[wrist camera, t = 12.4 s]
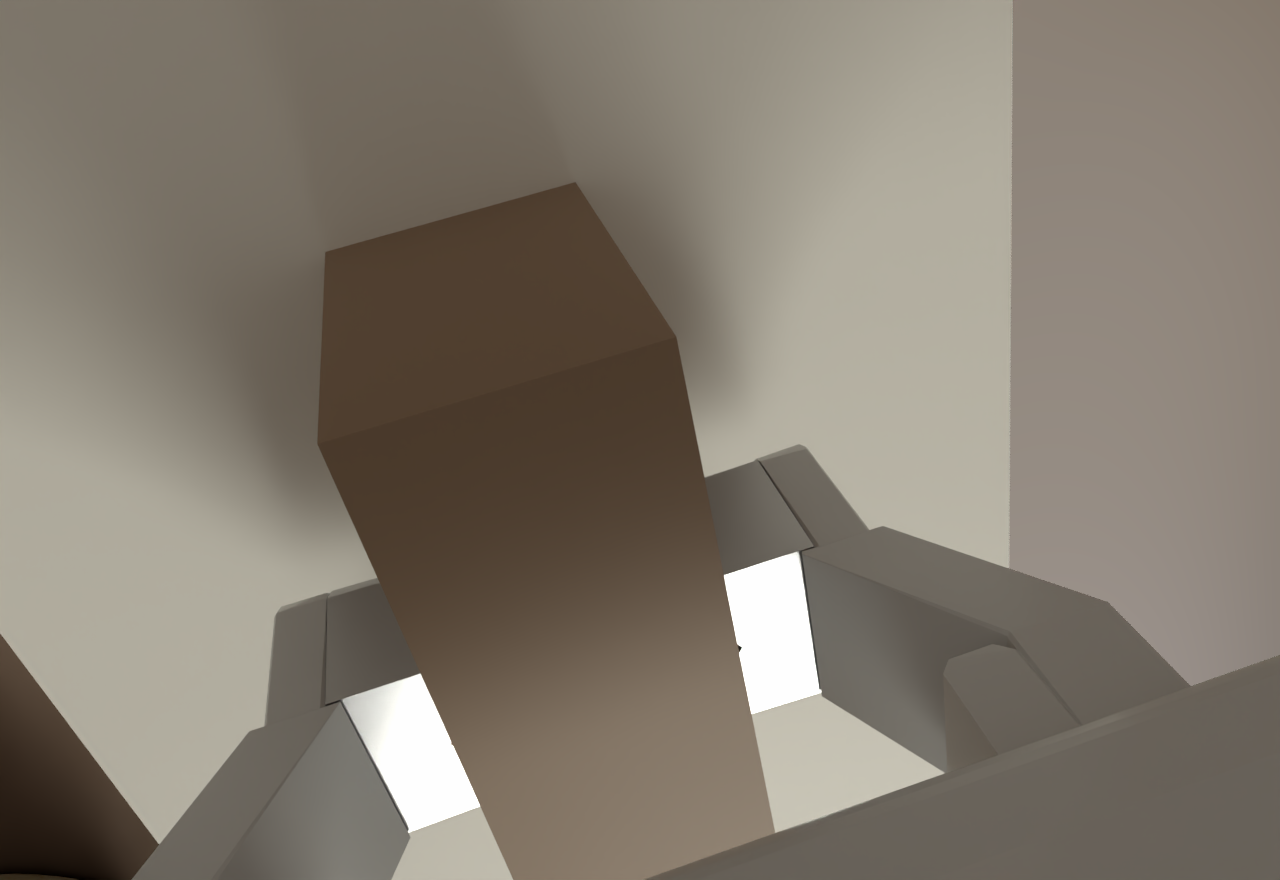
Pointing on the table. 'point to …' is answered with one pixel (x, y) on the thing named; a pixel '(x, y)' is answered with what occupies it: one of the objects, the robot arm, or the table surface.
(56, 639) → the lid
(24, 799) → the table surface
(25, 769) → the table surface
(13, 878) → the planter bowl
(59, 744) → the table surface
